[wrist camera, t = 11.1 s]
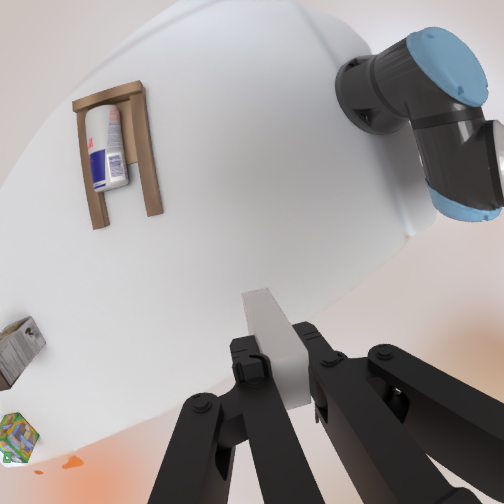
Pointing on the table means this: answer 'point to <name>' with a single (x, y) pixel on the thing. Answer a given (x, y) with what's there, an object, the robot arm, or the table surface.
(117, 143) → the energy drink
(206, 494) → the robot arm
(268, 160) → the table surface
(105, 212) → the u rest
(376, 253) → the table surface
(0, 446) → the chalk box
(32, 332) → the coffee box
